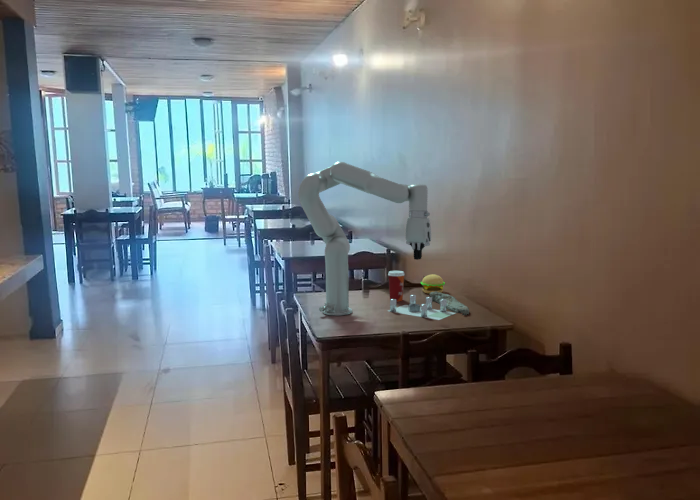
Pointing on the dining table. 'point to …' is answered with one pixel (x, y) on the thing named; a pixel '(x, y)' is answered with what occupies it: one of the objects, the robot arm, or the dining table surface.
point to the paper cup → (396, 285)
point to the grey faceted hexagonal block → (414, 307)
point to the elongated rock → (450, 302)
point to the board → (430, 313)
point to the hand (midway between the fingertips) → (417, 259)
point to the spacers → (423, 306)
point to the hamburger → (432, 284)
